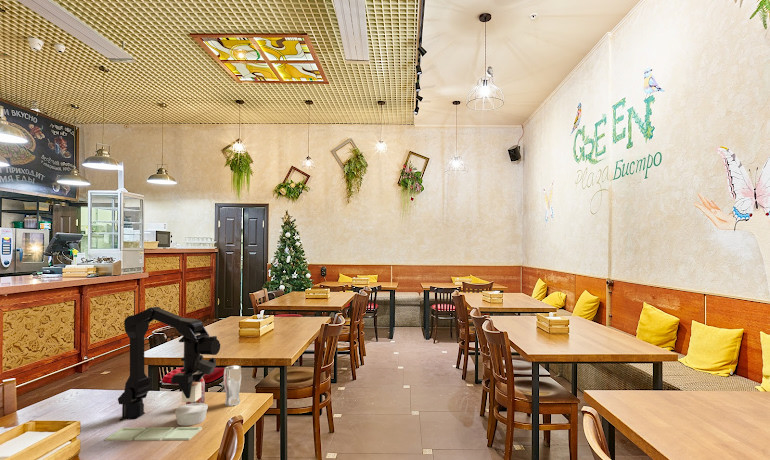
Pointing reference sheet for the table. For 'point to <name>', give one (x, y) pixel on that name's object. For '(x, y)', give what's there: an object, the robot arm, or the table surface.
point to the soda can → (201, 393)
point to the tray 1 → (126, 434)
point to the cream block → (193, 393)
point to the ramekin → (191, 414)
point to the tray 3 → (182, 433)
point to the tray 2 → (154, 433)
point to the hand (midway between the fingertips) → (191, 395)
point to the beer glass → (232, 384)
